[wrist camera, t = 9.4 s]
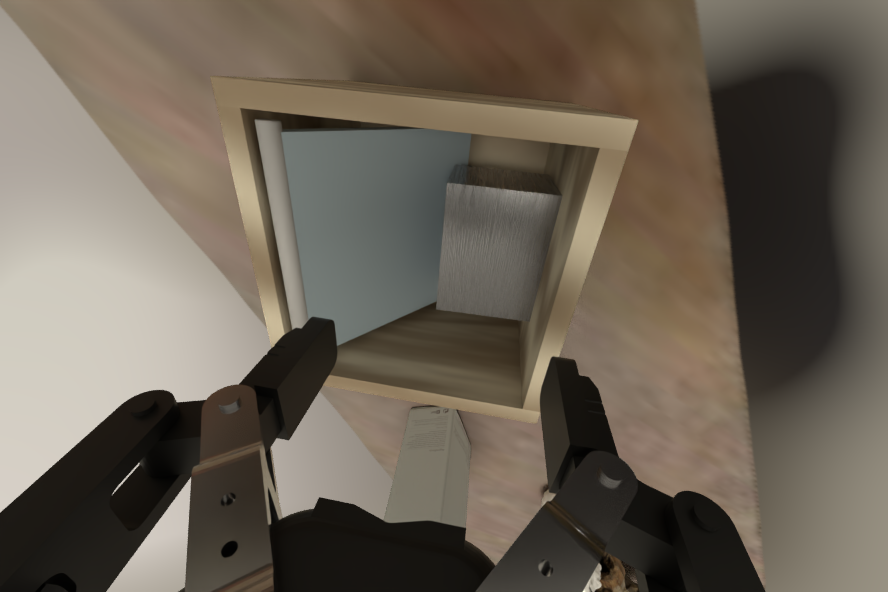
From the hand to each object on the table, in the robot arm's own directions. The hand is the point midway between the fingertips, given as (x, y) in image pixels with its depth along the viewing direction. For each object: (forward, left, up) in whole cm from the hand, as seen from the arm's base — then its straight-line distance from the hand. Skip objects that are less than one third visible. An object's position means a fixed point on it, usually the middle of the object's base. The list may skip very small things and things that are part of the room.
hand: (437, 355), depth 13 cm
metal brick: (0, -1, -11) cm, 11 cm away
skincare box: (+28, 0, -19) cm, 34 cm away
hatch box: (0, -2, -19) cm, 19 cm away
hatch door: (0, -5, -10) cm, 11 cm away
